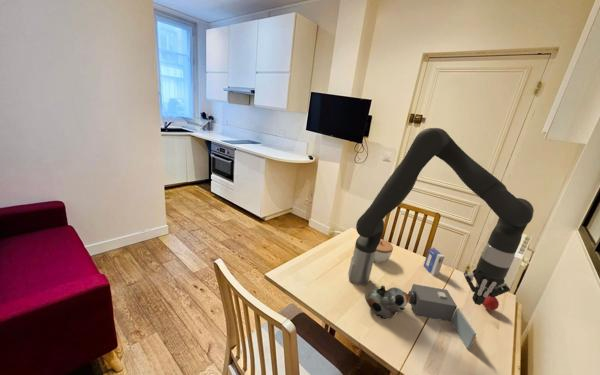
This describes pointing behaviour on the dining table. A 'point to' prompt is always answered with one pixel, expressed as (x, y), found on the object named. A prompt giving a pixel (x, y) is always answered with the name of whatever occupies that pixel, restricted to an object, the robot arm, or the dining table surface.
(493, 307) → the red bumpy ovoid
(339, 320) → the dining table surface
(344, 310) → the dining table surface
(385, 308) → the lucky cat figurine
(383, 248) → the lidded bowl
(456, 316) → the door
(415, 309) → the camera housing
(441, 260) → the walkman
